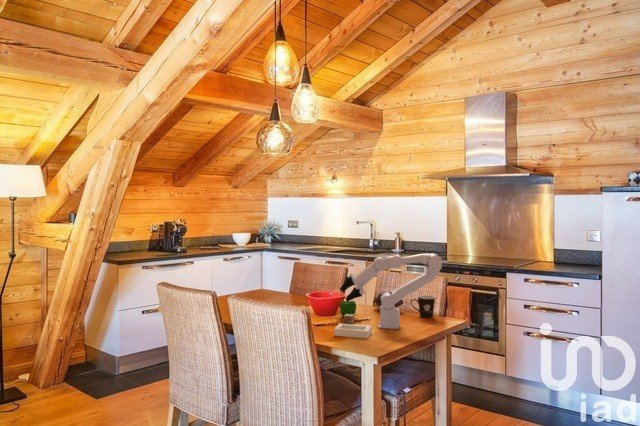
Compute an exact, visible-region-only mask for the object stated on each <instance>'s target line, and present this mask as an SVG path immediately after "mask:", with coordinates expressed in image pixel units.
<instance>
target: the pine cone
mask: <svg viewBox="0 0 640 426" xmlns="http://www.w3.org/2000/svg"><path fill="white" fill-rule="evenodd" d="M385 292H389V291H382V292H380V293H379V294H378V295H377V296H376V297H374V298H373V299H374V300H373V301H372V302H373V303H376V305H377V307H378V308H380V306H381V305H382V303H381V295H382V294H383V293H385ZM403 305H404V300H403V299H401V300H400V301H399V302H397V303H396V304H395V305H394V306H395V308H398V307H400V306H403Z"/></svg>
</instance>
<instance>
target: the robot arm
mask: <svg viewBox="0 0 640 426" xmlns="http://www.w3.org/2000/svg"><path fill="white" fill-rule="evenodd" d="M413 263H414V264H417V263H421V264H423V265H426V267H425V272H424V273H422V274H420V275H419V276H417V277H415V278H414V279H412V280H410V281H408V282H406V283H405V284H403V285H401V286H400V287H397V288H395V289H392V290H391V291H388V292H387V291H384V292H385V293H383V294H382V295H381V303H382V305H381V306H380V307H379V325H378V326H377V328H378V329H380V328H381V329H390V330H391V329H393V330H398V329H399V328H400V326H401V309H400V308H398V307H395V306H394V305H395V304H396V303H397V302H399V301H400V300H403V298H405V297H406V296H409V295H411V294H412V293H414V292H416V291H417V290H419V289H421V288H423V287H424V286H426V285H428V284H430V283H431V282H433V281H435V279H436V278H437V277H438V274H439V273H440V271H441V270H442V269H443V268H442V266H443V259H442V258H441V257H440V255H438V254H437V253H435V252H431V253H429V252H427V253H417V254H413V255H409V256H401V255H399V254H396V253H395V254H393V255H389V256H386V255H383V256H382V257H380V256H379V257H376V258H374V259H373V262H372V263H370V264H369V265H368V266H367V267H365V268H364V269H363V270H362V271H360V273H358V274H357V275H356V276H355V274H353V273H352V272H351V273H350V274H349V275H348V276H346V277H345V280H344V281H343V283H342V285H341V286H340V288H339V290H340V291H341V292H342V293H344V292H345V291H346V290H348V289H349V288H350V287H352V286H354V287H353V288H352V290H351V291H350V292H349V294H348V295H346V297H345V301H346V300H347V301H349V302H350V301H353V300H354V299H357V298H360V297H363V295H364V294H366V291H365V289H364V286H365V285H367V284H368V283H369V282H370V281H371V280H372V279H374V278H375V277H376V276H377V275H378V274H379V273H380V272H383V271H385V270H386V269H387V270H391V269H397V268H401V267H402V266H403V265H407V264H413ZM352 299H353V300H352Z"/></svg>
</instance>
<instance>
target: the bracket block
mask: <svg viewBox="0 0 640 426" xmlns="http://www.w3.org/2000/svg"><path fill="white" fill-rule="evenodd" d="M343 324H355V315H354V314H345V315H344V317H343Z"/></svg>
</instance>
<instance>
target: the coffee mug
mask: <svg viewBox="0 0 640 426" xmlns="http://www.w3.org/2000/svg"><path fill="white" fill-rule="evenodd" d="M413 301H416V302H417V304H418V308H417V307H415V306H414V305H413V304H412V303H413ZM435 301H436V296H432V295H418V296H417V299H415V298H413V299H411V301H410V306H411V307H412V308H414V309H415V310H417V312H419V317H420V318H422V319H431V318H433V317H434V310H435V304H436V303H435Z"/></svg>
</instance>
